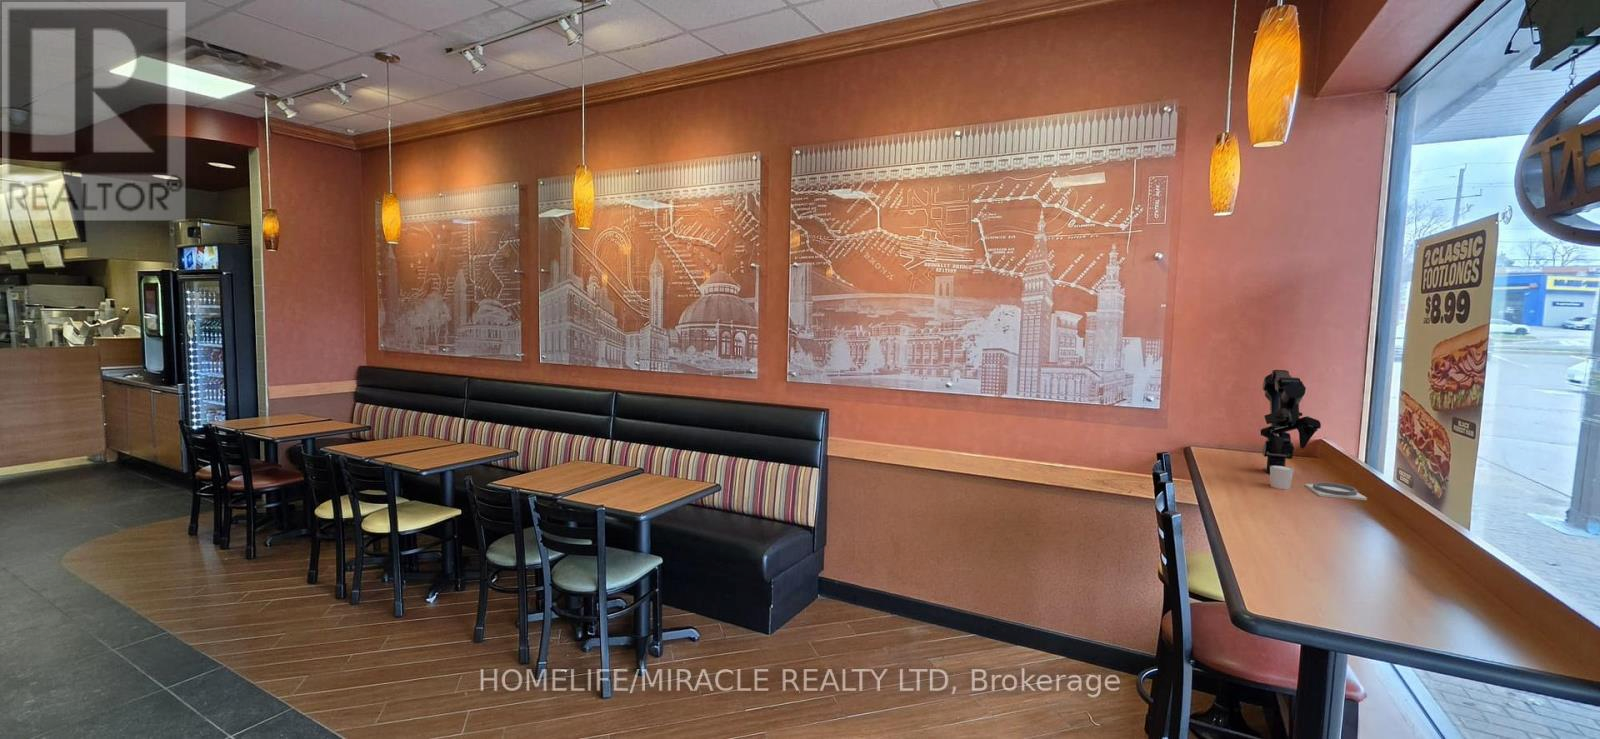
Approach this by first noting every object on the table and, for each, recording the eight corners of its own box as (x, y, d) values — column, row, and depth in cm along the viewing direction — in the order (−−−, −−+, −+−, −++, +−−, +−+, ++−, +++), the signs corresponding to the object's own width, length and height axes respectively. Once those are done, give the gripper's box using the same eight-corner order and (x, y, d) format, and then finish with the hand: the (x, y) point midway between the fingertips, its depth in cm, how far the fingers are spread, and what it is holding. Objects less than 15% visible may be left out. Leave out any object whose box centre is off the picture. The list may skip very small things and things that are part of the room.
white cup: (1296, 489, 230) (1298, 470, 229) (1276, 489, 230) (1278, 470, 229) (1282, 484, 236) (1284, 465, 236) (1263, 484, 237) (1265, 465, 236)
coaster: (1304, 485, 234) (1305, 480, 234) (1349, 489, 230) (1349, 483, 230) (1319, 496, 222) (1320, 490, 222) (1366, 500, 218) (1367, 494, 218)
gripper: (1247, 409, 243) (1247, 449, 237) (1293, 395, 226) (1294, 438, 220) (1273, 418, 244) (1274, 458, 238) (1321, 405, 227) (1323, 448, 221)
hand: (1290, 451), depth 229 cm, fingers open, 9 cm apart
